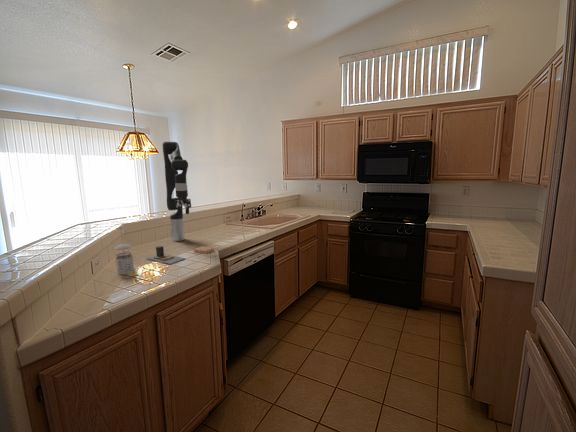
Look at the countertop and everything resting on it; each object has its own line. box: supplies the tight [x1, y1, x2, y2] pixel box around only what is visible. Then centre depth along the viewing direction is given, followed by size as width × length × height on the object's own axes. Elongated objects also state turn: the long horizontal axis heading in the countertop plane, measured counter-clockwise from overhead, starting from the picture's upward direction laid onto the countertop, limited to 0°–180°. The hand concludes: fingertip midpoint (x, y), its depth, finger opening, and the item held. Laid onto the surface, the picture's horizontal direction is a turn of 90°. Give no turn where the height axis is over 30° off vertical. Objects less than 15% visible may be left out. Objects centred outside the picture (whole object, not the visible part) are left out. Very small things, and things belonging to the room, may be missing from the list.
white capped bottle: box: [114, 226, 136, 275], centre depth 150 cm, size 10×12×25 cm
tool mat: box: [146, 253, 186, 265], centre depth 173 cm, size 22×11×1 cm, turn 60°
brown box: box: [154, 245, 175, 261], centre depth 173 cm, size 10×7×7 cm
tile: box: [193, 246, 215, 255], centre depth 188 cm, size 2×8×10 cm
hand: (183, 213), depth 191 cm, fingers open, 8 cm apart
